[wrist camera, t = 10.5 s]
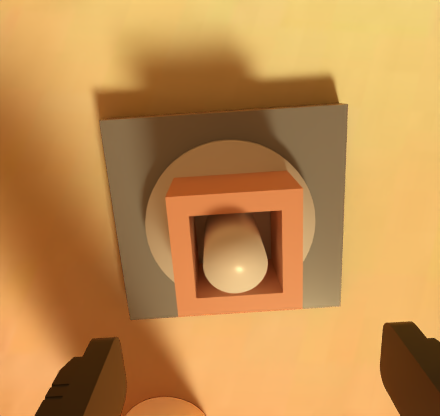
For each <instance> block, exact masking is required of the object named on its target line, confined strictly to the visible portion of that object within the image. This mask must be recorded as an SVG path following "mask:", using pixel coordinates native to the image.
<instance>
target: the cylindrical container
mask: <svg viewBox="0 0 440 416" xmlns="http://www.w3.org/2000/svg"><path fill="white" fill-rule="evenodd" d="M126 416H205V414H204V413H203V412H202V411H201V410H200V409H199V408H198V407H196V406H195V405H193V404H192V403H190V402H187V401H185V400H182V399H178V398H173V397H157V398H152V399H148V400H145V401H143V402H141V403H139V404H137V405H136V406H134V407H133V408H132V409H131V410H130V411H129V412H128V413H127V414H126Z"/></svg>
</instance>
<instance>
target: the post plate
mask: <svg viewBox="0 0 440 416" xmlns="http://www.w3.org/2000/svg"><path fill="white" fill-rule="evenodd" d="M347 115H348V104H342V103H334V104H319V105H304V106H289V107H274V108H259V109H243V110H228V111H213V112H198V113H183V114H168V115H153V116H138V117H123V118H107V119H103V120H100V121H99V122H100V129H101V135H102V142H103V148H104V155H105V161H106V167H107V174H108V180H109V187H110V193H111V199H112V206H113V212H114V219H115V225H116V232H117V238H118V244H119V251H120V257H121V264H122V270H123V276H124V283H125V289H126V296H127V302H128V309H129V315H130V320H139V319H154V318H169V317H178V309H177V300H176V291H175V282H174V273H173V264H172V255H171V246H170V236H169V227H168V218H167V209H166V200H165V197H166V194H167V192H168V190H169V187H170V185H171V183H172V180H173V178H178V177H194V176H209V175H225V174H240V173H255V172H271V171H286V170H287V171H288V172H289V173H290V174H291V175H292V176H293V178H294V179H295V180H296V181H297V182H298V183H299V184H300V185H301V186H302V188H303V309H307V308H322V307H338V306H340V302H341V276H342V249H343V222H344V195H345V169H346V142H347ZM195 224H196V236H197V247H198V259H199V264H201V263H203V269H204V273H205V276H206V278H207V279H208V281H209V282H210V283H211V284H212V285H213V286H214V287H216V288H217V289H219V290H221V291H224V292H227V293H242V292H246V291H249V290H251V289H253V288H254V287H256V286H257V285H258V284H259V283H260V282H261V281H262V279H263V278H264V276H265V274H266V271H267V267H268V259H271V221H270V211H263V212H248V213H232V214H217V215H201V216H195ZM199 316H200V315H199ZM184 317H185V316H184Z"/></svg>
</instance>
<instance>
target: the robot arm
mask: <svg viewBox="0 0 440 416" xmlns="http://www.w3.org/2000/svg"><path fill="white" fill-rule="evenodd" d="M380 373H381V378H382V381H383V384H384V387H385V389H386V391H387V392H388V394H389V396H390V398H391V400H392V401H393V403H394V405H395V407H396V409H397V410H398V412H399V414H400V416H440V342H439V341H438V340H436V339H435V338H426V337H425V335H424V334H423V333H422V332H421V331H420V329H419V328H418V327H417V326H416V325H415V324H414V323H413V322H393V323H385V324H384V326H383V333H382V346H381V358H380ZM126 388H127V382H126V374H125V368H124V362H123V356H122V350H121V344H120V340H119V338H118V337H114V338H96V339H92V340H91V341H90V343H89V345H88V347H87V349H86V351H85V353H84V355H83V357H74V358H72V359H71V360H70V361H69V362H68V363H67V364H66V365H65V366H64V367H63V368H62V369H61V370H60V371H59V373H58V374H57V376H56V378H55V380H54V382H53V383H52V387H51V388H50V389H49V391H48V392H47V394H46V396H45V400H43V401H42V403H41V405H40V407H39V409H38V410H37V412H36V414H35V416H121V412H122V409H123V405H124V402H125V398H126Z"/></svg>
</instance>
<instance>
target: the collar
mask: <svg viewBox="0 0 440 416" xmlns="http://www.w3.org/2000/svg"><path fill="white" fill-rule="evenodd" d="M165 200H166V209H167V218H168V227H169V236H170V246H171V255H172V264H173V273H174V282H175V291H176V300H177V309H178V317H184V316H199V315H215V314H231V313H246V312H262V311H277V310H293V309H303V188H302V186H301V185H300V184H299V183H298V182H297V181H296V180H295V179H294V178H293V176H292V175H291V174H290V173H289V172H288V171H287V170H286V171H271V172H255V173H240V174H225V175H209V176H194V177H178V178H173V180H172V183H171V185H170V187H169V190H168V192H167V194H166V197H165ZM263 211H270V221H271V259H268V267H267V271H266V274H265V276H264V278H263V279H262V281H261V282H260V283H259V284H258V285H257V286H256V287H254V288H253V289H251V290H249V291H246V292H242V293H227V292H224V291H221V290H219V289H217V288H216V287H214V286H213V285H212V284H211V283H210V282H209V281H208V279H207V278H206V276H205V273H204V269H203V263H201V264H199V259H198V247H197V236H196V224H195V216H201V215H217V214H232V213H248V212H263Z"/></svg>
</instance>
